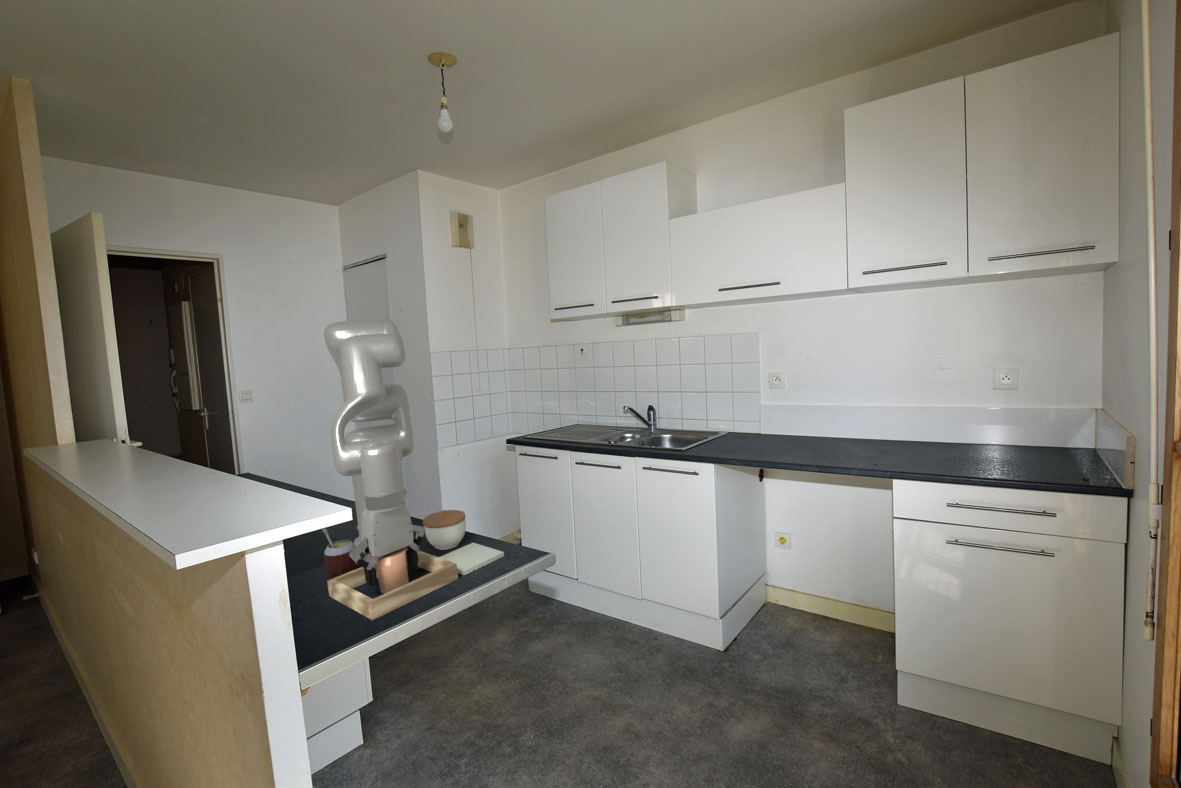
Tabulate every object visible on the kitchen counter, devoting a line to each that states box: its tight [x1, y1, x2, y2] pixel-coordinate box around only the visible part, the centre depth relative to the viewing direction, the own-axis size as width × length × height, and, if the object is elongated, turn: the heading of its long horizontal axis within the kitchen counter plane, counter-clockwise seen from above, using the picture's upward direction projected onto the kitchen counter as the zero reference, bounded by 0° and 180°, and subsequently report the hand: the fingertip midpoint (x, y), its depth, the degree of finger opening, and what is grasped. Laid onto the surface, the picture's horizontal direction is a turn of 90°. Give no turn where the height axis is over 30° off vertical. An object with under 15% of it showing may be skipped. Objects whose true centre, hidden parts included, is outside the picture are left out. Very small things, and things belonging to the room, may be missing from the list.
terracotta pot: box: [376, 548, 410, 595], centre depth 118 cm, size 6×6×8 cm
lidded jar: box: [422, 509, 467, 551], centre depth 140 cm, size 11×11×9 cm
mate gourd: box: [322, 527, 359, 580], centre depth 125 cm, size 8×8×15 cm
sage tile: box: [438, 542, 505, 576], centre depth 130 cm, size 12×12×1 cm
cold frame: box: [326, 548, 459, 621], centre depth 118 cm, size 18×20×4 cm
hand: (393, 576), depth 118 cm, fingers open, 9 cm apart
